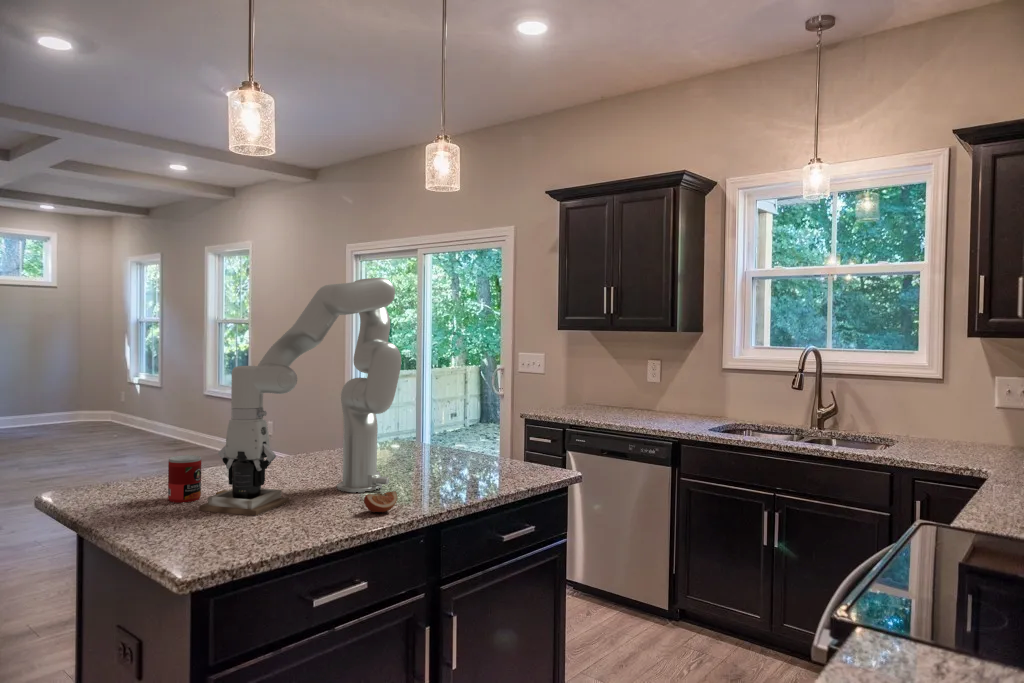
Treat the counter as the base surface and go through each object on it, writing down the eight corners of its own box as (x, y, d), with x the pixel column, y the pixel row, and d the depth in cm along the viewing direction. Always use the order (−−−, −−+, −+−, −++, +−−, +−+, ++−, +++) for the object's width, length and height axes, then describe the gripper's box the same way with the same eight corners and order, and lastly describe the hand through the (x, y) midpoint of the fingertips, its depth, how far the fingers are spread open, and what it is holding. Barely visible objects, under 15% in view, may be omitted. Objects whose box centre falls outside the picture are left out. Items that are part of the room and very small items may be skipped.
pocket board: (289, 502, 174) (289, 489, 174) (256, 515, 160) (256, 502, 160) (235, 497, 178) (235, 485, 178) (199, 510, 164) (199, 497, 164)
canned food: (188, 504, 170) (188, 461, 170) (160, 502, 172) (161, 459, 171) (207, 497, 177) (208, 456, 177) (181, 495, 179) (181, 454, 179)
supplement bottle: (237, 493, 172) (237, 447, 172) (264, 493, 173) (264, 447, 173) (227, 500, 165) (228, 452, 165) (256, 500, 166) (256, 452, 166)
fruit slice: (389, 507, 171) (390, 487, 171) (402, 513, 165) (403, 493, 165) (359, 512, 165) (360, 492, 165) (372, 518, 160) (372, 497, 160)
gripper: (286, 414, 170) (285, 483, 171) (227, 411, 175) (226, 479, 175) (268, 417, 163) (267, 490, 163) (207, 414, 167) (207, 485, 167)
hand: (246, 484), depth 169 cm, fingers closed on supplement bottle, 6 cm apart
